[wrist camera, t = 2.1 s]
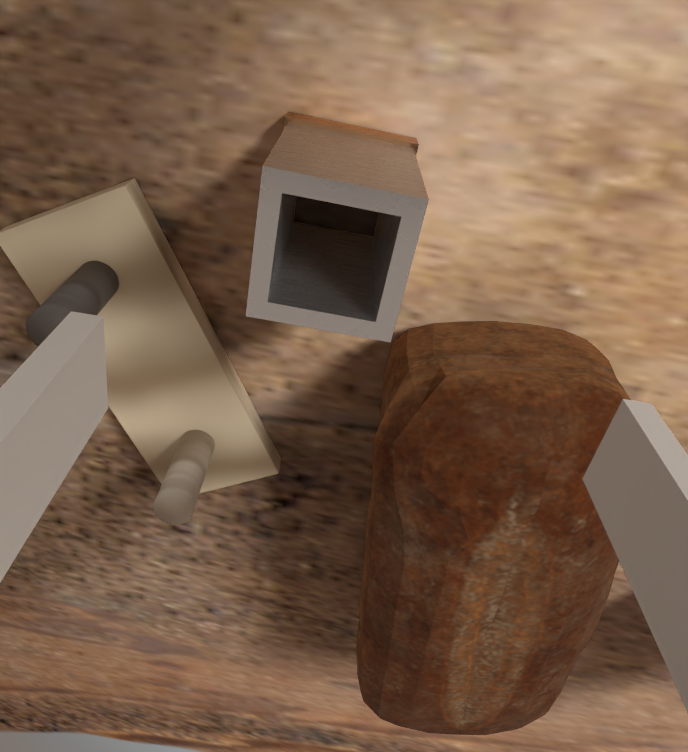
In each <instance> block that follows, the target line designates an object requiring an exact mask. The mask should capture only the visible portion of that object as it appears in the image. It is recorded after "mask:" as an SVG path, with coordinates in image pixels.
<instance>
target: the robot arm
mask: <svg viewBox="0 0 688 752" xmlns="http://www.w3.org/2000/svg"><path fill="white" fill-rule="evenodd" d="M107 409H108V395H107V376H106V358H105V339H104V321H103V316H97V315H91V314H85V313H78V312H72V311H71V312H70V313H69V314H68V315H67V316H66V317H65V318H64V320H63V321H62V322H61V323H60V324H59V325H58V326H57V327H56V328H55V329H54V330H53V331H52V333H51V334H50V335H49V336H48V337H47V338H46V339H45V340H44V341H43V342H42V343H41V344H40V346H39V347H38V348H37V349H36V350H35V351H34V352H33V353H32V354H31V355H30V356H29V357H28V358H27V360H26V361H25V362H24V363H23V364H22V365H21V366H20V367H19V368H18V369H17V370H16V371H15V373H14V374H13V375H12V376H11V377H10V378H9V379H8V380H7V381H6V382H5V383H4V384H3V386H2V387H1V388H0V582H1V580H2V579H3V577H4V576H5V574H6V572H7V571H8V569H9V568H10V566H11V564H12V563H13V561H14V559H15V558H16V556H17V555H18V553H19V551H20V550H21V548H22V547H23V545H24V543H25V542H26V540H27V538H28V537H29V535H30V534H31V532H32V530H33V529H34V527H35V526H36V524H37V522H38V521H39V519H40V517H41V516H42V514H43V513H44V511H45V509H46V508H47V506H48V505H49V503H50V501H51V500H52V498H53V496H54V495H55V493H56V492H57V490H58V488H59V487H60V485H61V484H62V482H63V480H64V479H65V477H66V475H67V474H68V472H69V471H70V469H71V467H72V466H73V464H74V463H75V461H76V459H77V458H78V456H79V454H80V453H81V451H82V450H83V448H84V446H85V445H86V443H87V442H88V440H89V438H90V437H91V435H92V433H93V432H94V430H95V429H96V427H97V425H98V424H99V422H100V421H101V419H102V417H103V416H104V414H105V412H106V411H107ZM583 481H584V483H585V486H586V488H587V490H588V492H589V494H590V497H591V499H592V501H593V503H594V506H595V508H596V510H597V512H598V515H599V517H600V519H601V521H602V523H603V526H604V528H605V530H606V532H607V535H608V537H609V539H610V541H611V543H612V546H613V548H614V550H615V552H616V555H617V557H618V559H619V561H620V563H621V566H622V568H623V570H624V572H625V575H626V577H627V579H628V581H629V583H630V586H631V588H632V590H633V592H634V595H635V597H636V599H637V601H638V603H639V606H640V608H641V610H642V612H643V615H644V617H645V619H646V621H647V623H648V626H649V628H650V630H651V632H652V635H653V637H654V639H655V641H656V643H657V646H658V648H659V650H660V652H661V655H662V657H663V659H664V661H665V663H666V666H667V668H668V670H669V672H670V675H671V677H672V679H673V681H674V683H675V686H676V688H677V690H678V692H679V695H680V697H681V699H682V701H683V703H684V706H685V708H686V710H687V712H688V455H687V453H686V452H685V451H684V449H683V448H682V446H681V445H680V443H679V442H678V441H677V439H676V438H675V436H674V435H673V433H672V432H671V431H670V429H669V428H668V426H667V425H666V423H665V422H664V421H663V419H662V418H661V416H660V415H659V414H658V412H657V411H656V409H655V408H654V406H653V405H652V404H651V403H646V402H639V401H633V400H627V399H623V400H622V402H621V404H620V406H619V408H618V409H617V411H616V413H615V415H614V417H613V419H612V421H611V423H610V425H609V427H608V429H607V431H606V433H605V435H604V437H603V439H602V441H601V443H600V445H599V447H598V449H597V451H596V453H595V455H594V457H593V459H592V461H591V463H590V465H589V467H588V469H587V471H586V473H585V475H584V477H583Z"/></svg>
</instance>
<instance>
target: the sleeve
mask: <svg viewBox="0 0 688 752" xmlns="http://www.w3.org/2000/svg"><path fill="white" fill-rule="evenodd" d="M418 145H419V144H418V141H417V138H413V137H408V136H403V135H398V134H393V133H389V132H384V131H379V130H374V129H369V128H364V127H360V126H355V125H350V124H345V123H340V122H336V121H331V120H326V119H321V118H316V117H312V116H307V115H302V114H297V113H292V112H288V113H287V114H286V116H285V120H284V128H283V132H282V134H281V136H280V137H279V139H278V141H277V142H276V144H275V146H274V147H273V149H272V151H271V152H270V154H269V156H268V158H267V159H266V161H265V163H264V164H263V166H262V175H261V183H260V192H259V201H258V210H257V219H256V228H255V237H254V246H253V255H252V264H251V272H250V281H249V290H248V299H247V308H246V316H247V317H253V318H258V319H264V320H269V321H275V322H280V323H286V324H291V325H297V326H302V327H308V328H313V329H319V330H324V331H330V332H335V333H341V334H346V335H352V336H357V337H363V338H368V339H374V340H379V341H385V342H390V343H391V339H392V336H393V332H394V328H395V324H396V321H397V317H398V313H399V309H400V305H401V302H402V298H403V294H404V290H405V287H406V283H407V279H408V275H409V272H410V268H411V264H412V260H413V257H414V253H415V249H416V245H417V242H418V238H419V234H420V230H421V226H422V223H423V219H424V215H425V211H426V208H427V204H428V200H429V199H428V195H427V192H426V189H425V185H424V182H423V179H422V175H421V172H420V168H419V165H418V162H417V158H416V153H417V149H418ZM297 196H300V197H305V198H310V199H315V200H320V201H325V202H330V203H335V204H340V205H345V206H350V207H355V208H360V209H365V210H370V211H376V212H379V214H378V219H377V223H376V228H375V232H374V237H372V236H367V235H361V234H356V233H351V232H346V231H341V230H336V229H331V228H326V227H320V226H315V225H310V224H305V223H300V222H295V221H293V220H294V213H295V206H296V200H297Z"/></svg>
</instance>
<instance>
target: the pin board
mask: <svg viewBox="0 0 688 752" xmlns="http://www.w3.org/2000/svg"><path fill="white" fill-rule="evenodd" d="M0 246H1V248H2V249H3V251H4V252H5V254H6V255H7V257H8V258H9V260H10V261H11V263H12V264H13V266H14V267H15V268H16V270H17V271H18V273H19V274H20V276H21V277H22V279H23V280H24V282H25V283H26V285H27V286H28V288H29V289H30V291H31V292H32V294H33V295H34V297H35V298H36V300H37V301H38V302H39V304H40V306H39V307H38V308H37V309H36V310H35V311H34V312H33V313H32V314H31V315H30V316H29V317H28V319H27V321H26V330H27V333H28V335H29V337H30V339H31V340H32V341H33V342H34V343H35V344H36V345H37V346H40V344H41V343H42V342H43V341H44V340H45V339H46V338H47V337H48V336H49V335H50V334H51V333H52V331H53V330H54V329H55V328H56V327H57V326H58V325H59V324H60V323H61V322H62V321H63V320H64V318H65V317H66V316H67V315H68V314H69V313H70V312H71V311H72V312H78V313H85V314H91V315H97V316H103V321H104V339H105V358H106V376H107V395H108V406H109V407H110V409H111V410H112V412H113V413H114V415H115V416H116V418H117V419H118V421H119V422H120V424H121V425H122V427H123V428H124V430H125V431H126V433H127V434H128V435H129V437H130V438H131V440H132V441H133V443H134V444H135V446H136V447H137V449H138V450H139V452H140V453H141V455H142V456H143V458H144V459H145V461H146V462H147V464H148V465H149V467H150V468H151V469H152V471H153V472H154V474H155V475H156V477H157V478H158V480H159V481H160V483H161V484H162V485H161V488H160V490H159V492H158V495H157V497H156V500H155V502H154V505H153V511H154V513H155V515H156V516H157V517H158V518H159V519H160V520H162V521H163V522H166V523H169V524H175V525H177V524H183V523H186V522H187V521H189V520H190V518H191V516H192V514H193V511H194V508H195V505H196V502H197V499H198V496H199V493H203V492H207V491H211V490H215V489H219V488H223V487H227V486H231V485H235V484H239V483H243V482H247V481H251V480H255V479H259V478H263V477H267V476H271V475H275V474H279V469H280V463H281V457H280V455H279V454H278V452H277V450H276V448H275V446H274V444H273V442H272V440H271V438H270V436H269V434H268V432H267V431H266V429H265V427H264V425H263V423H262V421H261V419H260V417H259V415H258V413H257V411H256V409H255V408H254V406H253V404H252V402H251V400H250V398H249V396H248V394H247V392H246V390H245V388H244V386H243V385H242V383H241V381H240V379H239V377H238V375H237V373H236V371H235V369H234V367H233V365H232V363H231V361H230V360H229V358H228V356H227V354H226V352H225V350H224V348H223V346H222V344H221V342H220V340H219V338H218V337H217V335H216V333H215V331H214V329H213V327H212V325H211V323H210V321H209V319H208V317H207V315H206V314H205V312H204V310H203V308H202V306H201V304H200V302H199V300H198V298H197V296H196V294H195V292H194V291H193V289H192V287H191V285H190V283H189V281H188V279H187V277H186V275H185V273H184V271H183V269H182V268H181V266H180V264H179V262H178V260H177V258H176V256H175V254H174V252H173V250H172V248H171V246H170V245H169V243H168V241H167V239H166V237H165V235H164V233H163V231H162V229H161V227H160V225H159V223H158V222H157V220H156V218H155V216H154V214H153V212H152V210H151V208H150V206H149V204H148V202H147V200H146V199H145V197H144V195H143V193H142V191H141V189H140V187H139V185H138V183H137V181H136V179H135V178H133V179H130V180H127V181H125V182H122V183H119V184H117V185H114V186H112V187H109V188H106V189H104V190H101V191H98V192H96V193H93V194H90V195H88V196H85V197H82V198H80V199H77V200H74V201H72V202H69V203H66V204H64V205H61V206H58V207H56V208H53V209H50V210H48V211H45V212H43V213H40V214H37V215H35V216H32V217H29V218H27V219H24V220H21V221H19V222H16V223H13V224H11V225H8V226H6V227H5V228H3V229H2V230H0Z"/></svg>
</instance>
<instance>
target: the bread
mask: <svg viewBox="0 0 688 752" xmlns="http://www.w3.org/2000/svg"><path fill="white" fill-rule="evenodd" d="M623 399H627V400H631V399H630V398H629V396H628V395H627V393H626V392H625V390H624V389H623V387H622V386H621V384H620V383H619V381H618V380H617V378H616V376H615V374H614V372H613V369H612V367H611V364H610V362H609V360H608V359H607V358H606V357H605V356H604V355H603V354H602V353H601V352H600V351H599V350H598V349H597V348H596V347H595V346H593V345H592V344H591V343H590V342H589V341H587V340H586V339H584V338H581V337H579V336H576V335H574V334H571V333H569V332H567V331H564V330H561V329H555V328H549V327H543V326H537V325H531V324H520V323H509V322H498V321H477V322H450V323H434V324H429V325H425V326H421V327H417V328H412V329H408V330H407V331H406V332H405V333H404V334H403V335H402V336H400V337H399V338H398V339H397V340H396V341H395V342H394V343H393V344H392V347H391V350H390V354H389V357H388V360H387V364H386V368H385V372H384V376H383V383H382V402H381V419H380V426H379V428H378V430H377V432H376V435H375V437H374V450H373V467H372V491H371V496H370V501H369V506H368V511H367V523H366V542H365V558H364V566H363V574H362V580H361V587H360V596H359V616H360V622H359V627H358V633H357V649H356V650H357V674H358V679H359V684H360V690H361V694H362V697H363V701H364V702H365V703H366V704H367V705H368V706H369V707H370V708H371V709H372V710H373V711H374V713H375V714H376V715H377V716H378V717H379V718H381V719H383V720H385V721H388V722H390V723H393V724H395V725H398V726H401V727H405V728H410V729H414V730H419V731H423V732H427V733H439V734H458V735H488V734H494V733H499V732H504V731H509V730H515V729H518V728H521V727H523V726H525V725H527V724H529V723H531V722H532V721H534V720H536V719H538V718H540V717H542V716H543V715H545V714H546V713H547V712H548V711H549V709H550V708H551V706H552V705H553V703H554V702H555V700H556V698H557V697H558V695H559V694H560V692H561V691H562V688H563V686H564V683H565V681H566V679H567V677H568V675H569V673H570V672H571V670H572V668H573V666H574V664H575V661H576V659H577V657H578V655H579V654H580V653H581V651H582V650H583V649H584V648H585V646H586V645H587V644H588V642H589V641H590V639H591V637H592V635H593V633H594V632H595V630H596V628H597V626H598V623H599V620H600V618H601V615H602V612H603V610H604V607H605V604H606V601H607V598H608V595H609V592H610V589H611V585H612V581H613V578H614V574H615V571H616V568H617V565H618V562H619V559H618V557H617V555H616V552H615V550H614V548H613V546H612V543H611V541H610V539H609V537H608V535H607V532H606V530H605V528H604V526H603V523H602V521H601V519H600V517H599V515H598V512H597V510H596V508H595V506H594V503H593V501H592V499H591V497H590V494H589V492H588V490H587V488H586V486H585V483H584V481H583V477H584V475H585V473H586V471H587V469H588V467H589V465H590V463H591V461H592V459H593V457H594V455H595V453H596V451H597V449H598V447H599V445H600V443H601V441H602V439H603V437H604V435H605V433H606V431H607V429H608V427H609V425H610V423H611V421H612V419H613V417H614V415H615V413H616V411H617V409H618V408H619V406H620V404H621V402H622V400H623Z"/></svg>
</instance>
